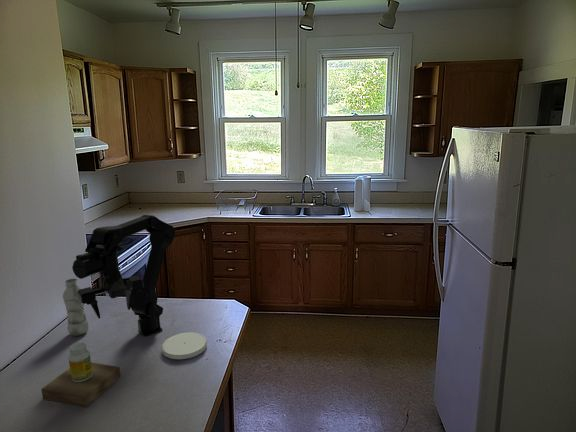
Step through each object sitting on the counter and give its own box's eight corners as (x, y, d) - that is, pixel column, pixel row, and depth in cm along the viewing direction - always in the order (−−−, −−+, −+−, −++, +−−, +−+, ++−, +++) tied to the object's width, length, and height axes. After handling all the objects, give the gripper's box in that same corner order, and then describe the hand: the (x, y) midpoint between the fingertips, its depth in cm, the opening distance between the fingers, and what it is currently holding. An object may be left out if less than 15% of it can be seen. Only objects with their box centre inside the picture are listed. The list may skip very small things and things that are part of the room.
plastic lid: (154, 350, 134) (154, 343, 134) (191, 334, 144) (190, 328, 144) (177, 367, 125) (177, 360, 124) (215, 349, 135) (215, 342, 134)
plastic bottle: (81, 338, 142) (73, 284, 138) (64, 337, 144) (55, 283, 139) (93, 329, 148) (86, 277, 144) (76, 328, 150) (69, 276, 145)
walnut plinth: (80, 369, 124) (79, 360, 124) (120, 375, 121) (119, 366, 120) (42, 398, 111) (41, 389, 111) (86, 407, 108) (84, 397, 107)
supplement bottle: (75, 372, 118) (70, 342, 116) (95, 370, 119) (90, 340, 116) (68, 384, 113) (63, 352, 110) (89, 381, 113) (85, 350, 111)
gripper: (83, 282, 116) (90, 332, 120) (148, 267, 128) (152, 313, 131) (73, 272, 125) (80, 319, 128) (135, 258, 136) (139, 302, 140)
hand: (114, 313), depth 132 cm, fingers open, 9 cm apart
